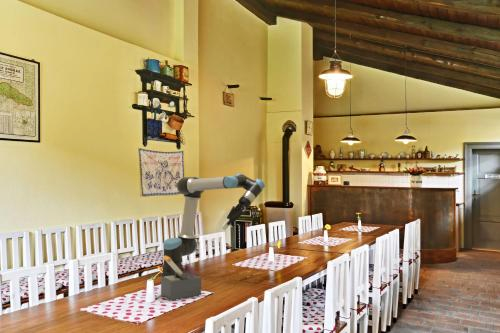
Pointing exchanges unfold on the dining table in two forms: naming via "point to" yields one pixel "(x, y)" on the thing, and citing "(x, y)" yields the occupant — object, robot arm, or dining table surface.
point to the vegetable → (189, 269)
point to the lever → (173, 265)
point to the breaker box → (180, 286)
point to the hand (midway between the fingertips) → (223, 228)
